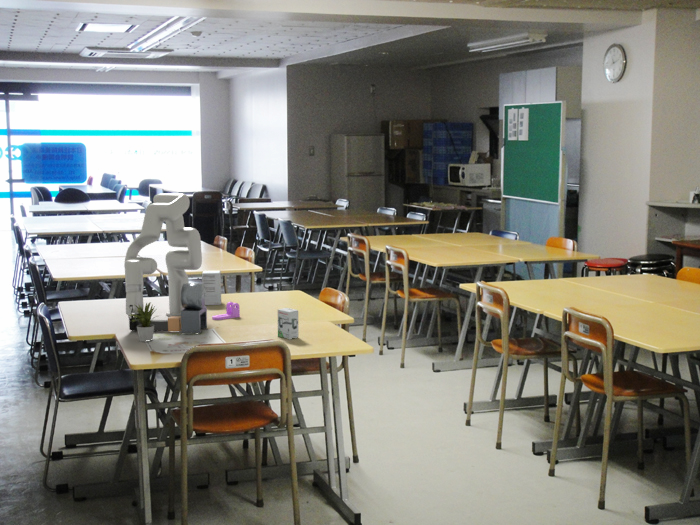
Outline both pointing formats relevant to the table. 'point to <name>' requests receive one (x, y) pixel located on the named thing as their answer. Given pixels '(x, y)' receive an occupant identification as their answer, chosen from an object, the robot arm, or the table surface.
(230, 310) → the bracket
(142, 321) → the house plant
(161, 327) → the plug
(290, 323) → the ink box
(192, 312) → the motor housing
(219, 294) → the supplement box
